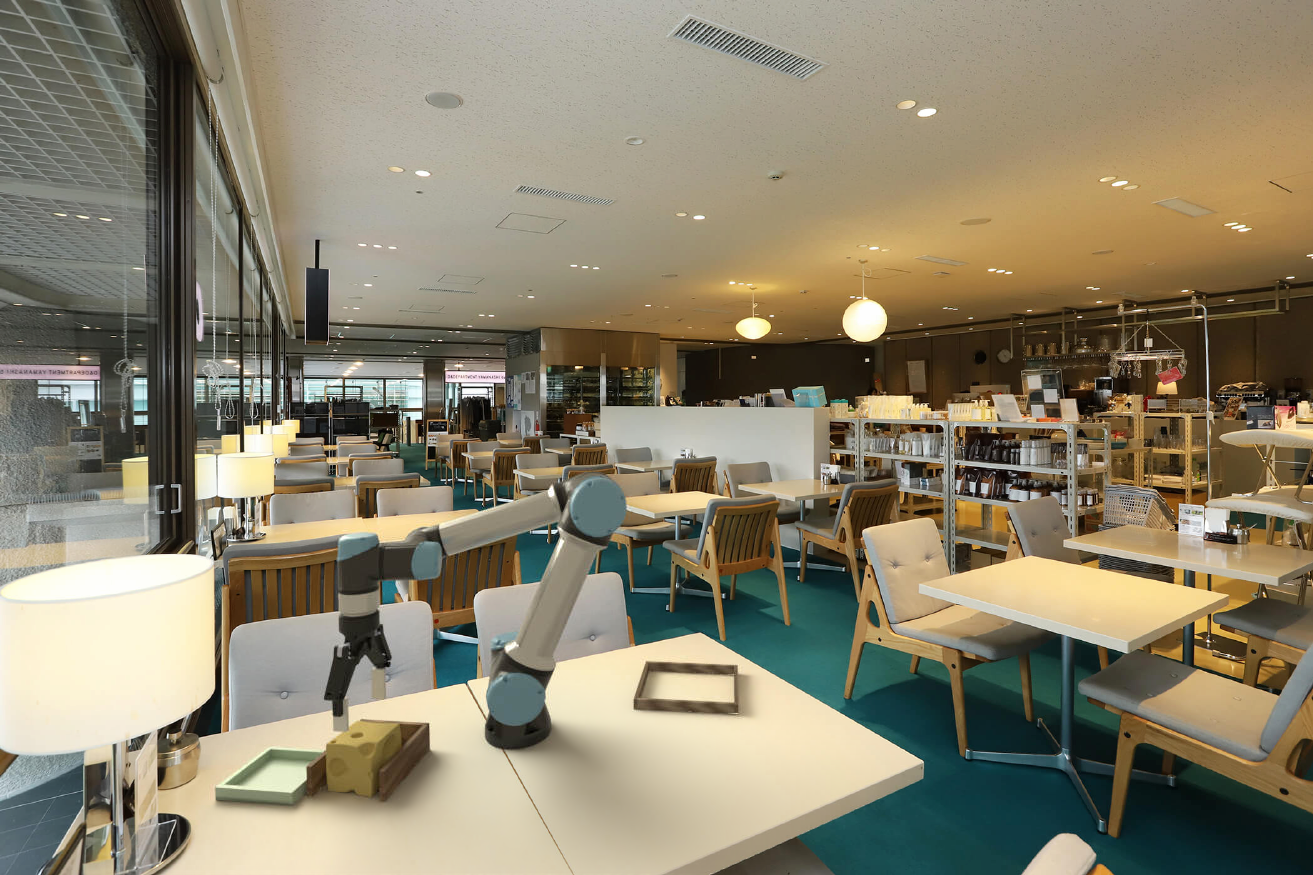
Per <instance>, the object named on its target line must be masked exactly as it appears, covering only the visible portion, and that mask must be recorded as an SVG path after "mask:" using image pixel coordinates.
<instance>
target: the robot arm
mask: <svg viewBox="0 0 1313 875" xmlns="http://www.w3.org/2000/svg"><path fill="white" fill-rule="evenodd" d="M627 508H628V507H627V499H626V495H625V492H624V490H623V489H622V487H621V486H620V485H619V484H618V483H617V482H616V481H615V480H613V479H612V477H610V476H608V475H607V474H606V473H603V472H600V471H594V470H593V471H592V470H591V471H585V472H582V473H580V474H576V475H575V476H572V477H570V478H566V479H564V480H562V481H560V482H556V483H553V484H551V485H550V486H549V489H548V490H545V491H542V492H538V493H536V494H532V495H529V496H526V497H522V498H518V499H516V500H513V501H509V502H506V503H503V504H500V505H499V504H498V505H497V506H493V507H490V508H487V509H483V510H480V511H477V512H474V513H470V514H467V515H464V516H460V517H458V518H454V519H451V520H447V521H443V522H442V523H441V522H440V523H439V524H435V525H431V526H422V527H418V528H416V529H413V530H412V531H411V532H410V533H408V535H407V536H406V537H405V539H404V540H403V541H402V542H392V543H388V542H387V543H385V542H380V540H379V535H378V534H376V533H375V532H364V531H363V532H353V533H348V534H345V535H343V536H341V537H340V538H339V539H338V542H337V558H336V563H337V585H338V586H337V587H338V590H337V591H338V594H337V597H338V598H337V599H338V611H339V615H338V632H339V634H341V635H343V636H344V642H343V644H341V645H339V644H338V645H335V646H334V647H333V658H332V663H331V666H330V671H329V675H328V679H327V682H326V687H325V691H324V695H323V700H324V701H328V702H329V701H331V703H332V706H331V707H332V726H333V727H332V728H333V730H332V731H333V732H341V733H342V732H347V731H348V730H349V727H350V724H349V722H350V721H349V720H350V718H349V716H350V715H349V714H350V713H349V697H348V696H347V692H348V691H349V688H350V683H351V681H352V679H353V675H354V673H355V671H356V668H357V666H358V665H359V664H360V663H361V660H362V659H363V657H365V656H366V657H367V658H368V660H369V661H370V663H371V664H372V665H373V667H372V668H371V699H372V700H381V701H384V700H386V698H387V694H386V693H387V692H386V690H387V687H386V668H390V667H391V664H392V662H391V661H392V658H393V656H392V653H391V651H390V648H389V645H388V644H389V643H388V642H387V639H386V636H385V634H384V631H385V630H384V624H383V623H381V621H380V616H381V615H380V610H379V607H380V605H381V603H380V582H388V581H389V582H392V581H394V582H395V581H396V582H397V581H426V580H433V579H436V578H439V577H440V575H441V572H442V567H443V566H442V565H443V559H445V558H447V557H450V556H452V555H455V554H459V553H462V552H466V551H469V550H473V549H475V548H479V547H482V546H485V545H488V544H490V543H494V542H497V541H500V540H504V539H507V538H511V537H513V536H516V535H517V536H518V535H521V534H524V533H527V532H529V531H533V530H536V529H539V528H541V527H542V528H543V527H545V526H549V525H552V524H555V523H557V524H556V528H557V530H558V533H559V538H558V541H557V543H556V545H555V547H554V549H553V552H552V553H551V554H552V555H551V557H550V560H549V562H548V564H547V566H546V568H545V571H544V573H543V575H542V578H541V580H540V582H539V584H538V587H537V589H536V591H535V594H534V596H533V598H532V600H531V603H530V605H529V607H528V609H527V612H526V615H525V617H524V619H523V621H522V624H521V626H520V628H519V631H510V632H505V633H500V634H497V635H495V636H494V637H493V638H492V639H491V642H490V648H489V649H490V656H491V657H490V660H491V661H490V672H489V679H488V685H487V689H486V695H485V698H486V704H487V710H488V714H487V717H486V719H485V722H484V739H485V740H486V742H488V744H490V745H492V746H494V747H497V748H500V749H501V748H502V749H521V748H526V747H530V746H534V745H536V744H539V743H540V742H542V741H544V740H545V739H546V738H547V737H548V736H549V735H550V733H551V731H552V718H551V715H550V712H549V709H548V706H547V703H546V699H547V697H546V694H547V693H546V690H547V688H548V686H549V683H550V681H551V679H552V676H553V674H554V671H555V669H556V667H557V661H556V659H555V658H554V653H555V651H556V649H557V647H558V645H559V643H560V640H561V637H562V634H563V633H564V631H565V628H566V625H567V624H568V621H569V618H570V616H571V613H572V612H573V609H574V607H575V605H576V602H577V600H578V598H579V595H580V593H581V591H582V589H583V586H584V584H585V582H586V580H587V577H588V574H589V572H590V570H591V569H592V565H593V563H594V560H595V558H596V556H597V554H598V553H599V551H602V550H605V549H607V548H608V546H609V544H610V541H611V540H612V537H613V536H614V533H615V532H616V531H617V530H618V529H619V528H620V527H621V525H623V522H624V520H625V518H626V515H627Z"/></svg>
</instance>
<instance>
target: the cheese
mask: <svg viewBox="0 0 1313 875" xmlns="http://www.w3.org/2000/svg"><path fill="white" fill-rule="evenodd" d="M401 746H402V739H401V730H400V724H398V723H372V722H364V721H360V720H356V721H355V722H353V723H352V724H351V725H349V730H348V731H347V732H341V733H339V734H338V735H336V736H335V737H334V738H333V739H331V740H329V741H328V742H326V745H325V750H326V774H327V783H326V784H327V791H329V792H336V793H350V792H352V791H354V792H355V794H356V795H358V796H363V797H369V798H372V797H373V796H374V795H375V794H376V793H377V792H378V790H379V791H380V786H379V771H380V770H381V769H382V768H383V767H384V766H385V765H386V764H387V762H388V761H389V760H390V759H391V758H392V757H393V756H394V755H395V754H396V753H397V752H398V751H399V750H400V749H401Z"/></svg>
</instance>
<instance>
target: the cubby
mask: <svg viewBox="0 0 1313 875" xmlns="http://www.w3.org/2000/svg"><path fill="white" fill-rule="evenodd" d="M359 721H364V722H372V723H398V724H400V730H401V739H402V746H401V749H400V750H399V751H398V752H397V753H396V754H395V755H394V756H393V757H392V758H391V759H390V760H389V761H388V762H387V764H386V765H385V766H384V767H383V768H382V769H381V770H380V771H379V786H380V788H379V802H384V803H385V802H386V801H387V800H388V799H389V798H390V796H391V795H392V794H393V793H394V792H395V791H396V789H398V788H399V787H400V785H401V783H403V782H404V780H405V779H406V778H407V777H408V775H409V774H410V773H412V771H413V770H414V769H415V767H417V765H418V764H419V763H420V762H421V760H422V759H423V758H424V757H425V756H426V755H427V754H428V752H429V751H430V750H431V738H430V737H431V736H430V734H431V732H430V722H418V721H417V722H416V721H402V720H401V721H400V720H382V719H381V720H380V719H363V718H361V719H360V720H359ZM324 750H325V751H324V752H323V753H321V754H320V755H319V756H318V757H317V758H316V759H314V760H313V761H312V762H311V763H310V764H309V765H308V766H306V771H307V792H306V794H307V797H313V796H315V795H316V794H317V793H318V792H319V791H320V790H321V789H322V788H323V787H324V786H325V785H326V784H327V774H326V749H324Z"/></svg>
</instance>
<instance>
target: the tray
mask: <svg viewBox="0 0 1313 875" xmlns="http://www.w3.org/2000/svg"><path fill="white" fill-rule="evenodd" d="M325 750H326V749H318V748H315V749H313V748H299V747H284V746H268V747H266V748H265V749H264V750H262V752H260V753H259V754H257V755H256V756H255V757H253V758H252V759H250V760H249V761H248V762H246V763H245V764H244V765H242V766H241V767H240V768H239V769H238V770H236V771H235V772H234V773H232V774H230V775H229V776H228V777H226V778H225V779H224V780H223V781H221V782H219V783H218V784H217V785H216V786H215V787H214V792H215V794H214V795H215V796H214V797H215V801H228V802H229V801H231V802H240V803H241V802H243V803H256V804H266V805H267V804H269V805H281V806H283V805H285V806H293V805H294V804H296V803H297V802H298V801H299V800H300V799H301V798H302V797H303V796H304V795H306V794H307V771H306V766H308V765H309V764H310V763H311V762H312V761H313V760H314V759H316V758H317V757H318V756H319V755H320V754H321V753H323V752H324V751H325Z"/></svg>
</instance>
